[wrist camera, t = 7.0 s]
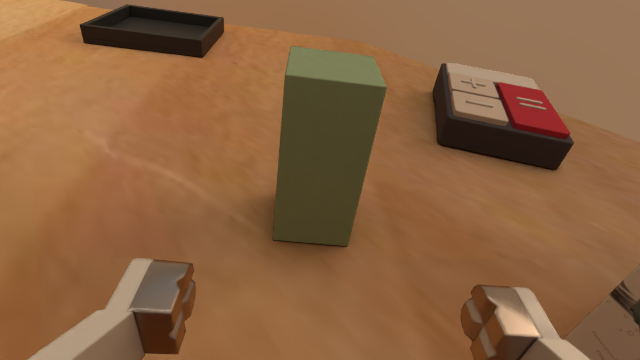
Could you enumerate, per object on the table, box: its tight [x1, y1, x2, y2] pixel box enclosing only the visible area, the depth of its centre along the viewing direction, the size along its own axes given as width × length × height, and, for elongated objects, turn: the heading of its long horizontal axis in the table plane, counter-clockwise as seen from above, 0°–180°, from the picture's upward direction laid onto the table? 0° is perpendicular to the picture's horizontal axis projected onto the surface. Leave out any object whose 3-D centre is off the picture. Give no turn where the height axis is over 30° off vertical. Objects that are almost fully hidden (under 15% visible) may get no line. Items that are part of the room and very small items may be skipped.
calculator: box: [433, 62, 574, 169], centre depth 38 cm, size 11×4×15 cm
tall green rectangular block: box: [273, 46, 387, 246], centre depth 20 cm, size 4×4×10 cm
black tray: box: [80, 5, 224, 57], centre depth 49 cm, size 14×13×2 cm
